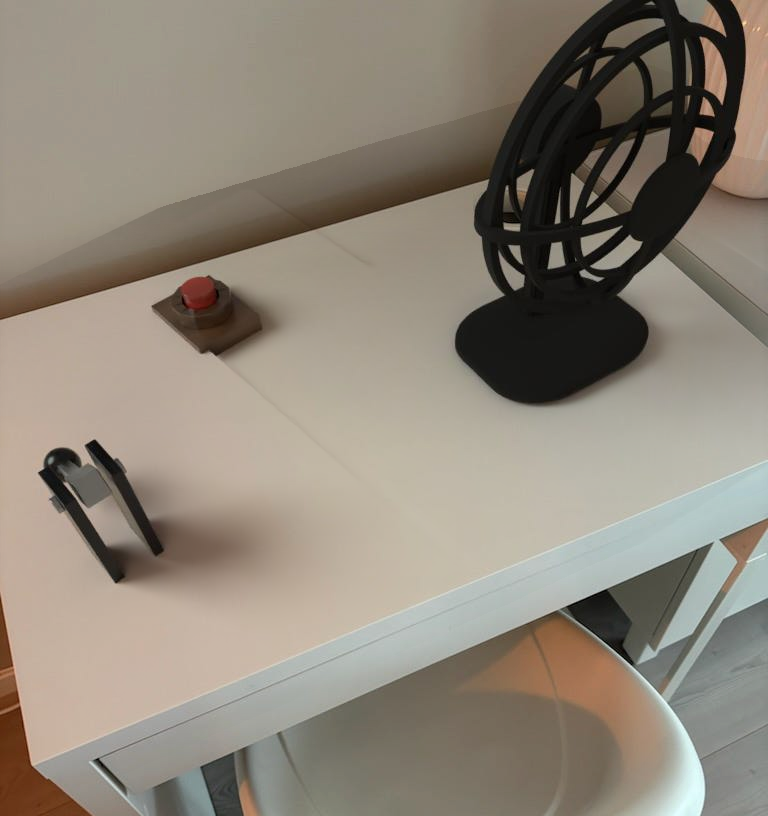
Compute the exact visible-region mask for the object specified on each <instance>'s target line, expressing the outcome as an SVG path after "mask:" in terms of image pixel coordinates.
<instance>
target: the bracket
mask: <svg viewBox="0 0 768 816" xmlns="http://www.w3.org/2000/svg"><path fill="white" fill-rule="evenodd" d="M84 448H85V450H86V451H87V454H88V455H89V457H90V459H91V460H92V462H93V464H94V467H95V468H96V469H97V470H98V471H99V473H100V474H101V476H102V477H103V479H104V480H105V482H106V483H107V485H108V486H109V488H110V489H111V491H112V492H113V494H111V496H112V498H113V500H114V502H115V503H116V505H117V507H118V508H119V510H120V512H121V513H122V515H123V517H124V519H125V521H126V522H127V524H128V526H129V528H130V529H131V530H132V532H133V533H134V534H135V535H136V536H137V537H138V538H139V540H140V541H141V542H142V543H143V544H144V545H145V547H146V548H147V549H148V550H149V551H150V553H151V554H152V555H153V556H154V557H157V556H158V555H160V554H162V553H163V552H165V548H164V546H163V545H162V542H161V540H160V538H159V537H158V535H157V533H156V531H155V529H154V527H153V525H152V523H151V521H150V520H149V517H148V515H147V514H146V512H145V510H144V508H143V506H142V504H141V502H140V500H139V498H138V497H137V495H136V492H135V491H134V489H133V487H132V485H131V483H130V481H129V479H128V477H127V475H126V474H127V472H128V471H127V469H126V467H125V465H124V464H123V463H122V461H121V460H120V459H119V458H118V457H115V458H113V457H112V456H111V455H110V454H109V452H108V451H107V450H105V448H104V447H103V446H102V445H101V444H100V443H99V441H98V440H97V439H92V440H91V441H88V442H87V443H85V444H84ZM37 474H38V476H39V477H40V479H41V481H42V482H43V484H44V485H45V486H46V488H47V489H48V491H49V492H50V494H51V495H52V496H51V497H49V498H48V502H49V503H50V504H51V505H52V507H53V508H54V509H55V511H56V512H57V513H58V514H59V515H60V514H62V513H64V514H65V516H66V518H67V519H68V521H69V522H70V523H71V525H72V526H73V528H74V529H75V531H76V532H77V534H78V536H79V537H80V538H81V540H82V541H83V543H84V544H85V546H86V547H87V549H88V550H89V552H90V553H91V555H92V556H93V557H94V559H95V560H96V561H97V562H98V563H99V565H100V566H101V567H102V568H103V570H104V572H105V573H106V574H107V575H108V576H109V577H110V579H111V581H113V583H114V584H117V583H119V582H120V581H122V580H124V579H126V575H125V574H124V572H123V570H122V569H121V567H120V566H119V564H118V562H117V561H116V559H115V558H114V556H113V555H112V553H111V551H110V550H109V549H108V547H107V545H106V544H105V542H104V541H103V539H102V537H101V536H100V534H99V532H98V531H97V529H96V528H95V526H94V525H93V523H92V522H91V520H90V518H89V517H88V515H87V513H86V512H85V510H84V509H83V507H82V506H81V504H80V503H79V501H78V500H77V499H78V498H76V497H75V495H74V493H72V492H71V491H70V489H69V488H68V486H66V484H65V483H63V482H62V481H61V480H60V478H59V477H58V476H57V475H56V474H55V472H54V471H53V470H52V469H51V467H50V466H48V467H46V468H43V469H41V470H39V471H38V472H37Z"/></svg>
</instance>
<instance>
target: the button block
mask: <svg viewBox="0 0 768 816" xmlns="http://www.w3.org/2000/svg"><path fill="white" fill-rule="evenodd" d="M205 277H207V278H209V279H211V280H212V281H213V283H214V286H215V290H216V294H217V301H216V303H215V304H213V305H211V306H210V307H208V308H204V309H198V310H195V309H190V308H188V307H187V306H186V304H185V301H184V298H183V295H182V292H181V287H182V285H180V286H177V287H178V288H176V290H175V291H174V293H172V294H170V295H169V296H166V297H165V298H163V299H161V300H160V301H158V302H157V301H156V303H154V304H152V305H150V307H151V310H152V312H153V313H154V314H155V315H156V316H157V317H158V318H160V319H161V320H162V321H163V322H164V323H165V324H166V325H168V327H170V329H172V330H173V331H174V332H175V333H176V334H177V335H179V336H180V337H181V338H182V339H183V340H184V341H186V343H187V344H188V345H190V346H191V347H192V348H193V349H194V350H195V351H197V353H199V355H202V354H204V353H206V352H208V351H209V352H210V353H212V354H213V355H214V356H215V357H218V356H219V355H221V354H223V353H224V352H226V351H228V350H229V349H232V348H233V347H235V346H237V345H238V344H240V343H241V342H243V341H245V340H247V339H249V338H250V337H252V336H253V335H256V334H257V333H259V332H260V331H262V330H263V327H262V321H261V318H260V313H258V312H257V311H256V310H254V309H253V308H252V307H250V306H249V305H248V304H247V303H245V301H243V300H241V299H240V298H239V297H238V296H237V295H235V294H234V293H233V292H232V291H231V290H230V287H229V286H228V285H226V283H224V282H223V281H221V280H219V279H215V278H214V277H212V276H211V275H210V274H208V275H206V276H205Z"/></svg>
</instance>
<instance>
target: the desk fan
mask: <svg viewBox="0 0 768 816" xmlns="http://www.w3.org/2000/svg"><path fill="white" fill-rule="evenodd" d="M706 1H707V2H708V4H710V5H711V6H712V8H713V9H714V10H715V12H716V13H717V15H718V17H719V19H720V22H721V24H722V26H723V29H724V32H725V35H724V34H723V33H722V32H720V31H718V30H717V29H715V28H713V27H710V26H708V25H705V24H704V23H700V22H696V21H690V20H689V19H688V18H686V17H685V16H684V15H683V14H681V13H680V10H679V6H678V4H677V2H676V0H610V1H609V2H608V3H606V4H605V5H603V6H602V7H601V8H600V9H599V10H597V11H596V12H594V14H592V15H591V16H590V17H589V18H588V19H586V21H584V22H583V23H582V24H581V25H580V26H579V27H578V28H577V29H576V30H575V31H574V32H573V33H572V34H571V35H570V36H569V37H568V39H567V40H566V41H565V42H564V43H563V44H562V45H561V46H560V47H559V48H558V50H557V51H556V52H555V53H554V54H553V55H552V57H551V58H550V59H549V61H548V62H547V63H546V65H545V66H544V68H542V70H541V71H540V73H539V74H538V76H537V77H536V79H535V80H534V82H533V83H532V85H531V86H530V88H529V90H528V91H527V92H526V94H525V95H524V97H523V99H522V101H521V103H520V104H519V106H518V108H517V110H516V112H515V113H514V115H513V117H512V119H511V121H510V124H509V126H508V127H507V130H506V132H505V134H504V136H503V138H502V140H501V143H500V146H499V149H498V151H497V153H496V156H495V159H494V162H493V165H492V168H491V171H490V174H489V178H488V182H487V186H486V190H484V192H483V193H482V194H481V196H480V197H479V198H478V200H477V202H476V204H475V206H474V213H473V228H474V230H475V232H476V234H477V235H478V236H479V237H481V247H482V253H483V258H484V263H485V267H486V269H487V271H488V274H489V276H490V279H491V280H492V282H493V284H494V285H495V287H496V288H497V289H498V290H499V291H500V292H501V293H502V294H503V295H502V296H501V297H498V298H496V299H493V300H492V301H490V302H488V303H487V302H486V303H485V304H482V305H481V306H479V307H477V308H476V309H474V310H473V311H471V312H470V313H469V314H467V315H466V316H465V317H464V318H463V320H462V321H461V322H460V323H459V324H458V326H457V329H456V332H455V334H454V335H455V336H454V349H455V352H456V353H457V356H458V357H459V358H460V359H461V361H462V362H463V363H464V364H466V365H467V366H468V367H469V368H470V369H471V370H472V371H473V372H474V373H475V374H476V375H477V376H478V377H479V378H480V379H481V380H482V381H483V382H484V383H485V384H486V385H487V386H488V387H489V388H490V389H491V390H493V392H495V393H496V394H498V395H500V396H501V397H503V398H505V399H508V400H509V401H514V402H519V403H523V404H524V403H526V404H543V403H550V402H555V401H558V400H561V399H565V398H567V397H569V396H572V395H573V394H576V393H578V392H580V391H581V390H584V389H585V388H587V387H589V386H591V385H593V384H594V383H597V382H598V381H601V380H602V379H604V378H606V377H608V376H610V375H612V374H614V373H615V372H617V371H619V370H621V369H623V368H625V367H627V366H628V365H629V364H631V363H633V361H635V360H636V359H637V358H638V357H639V356H640V355H641V353H643V351H644V350H645V347H646V344H647V343H648V338H649V334H650V333H649V332H650V330H649V325H648V322H647V320H646V318H645V317H644V315H642V313H641V312H639V311H638V309H636V308H634V307H633V306H632V305H631V304H629V303H628V302H627V301H625V300H624V299H622V298H621V297H620V296H619V294H620V293H621V292H623V291H624V289H625V288H626V287H627V286H628V285H629V284H630V283H631V281H632V280H633V279H634V277H635V276H636V275H637V274H639V273H640V272H641V271H642V270H643V269H645V268H646V267H647V266H649V264H651V263H652V262H653V261H654V259H656V258H657V257H658V256H659V255H660V254H661V253H662V252H663V251H664V250H665V248H667V246H668V245H669V244H670V243H671V242H672V241H673V240H674V238H676V236H677V235H678V234H679V233H680V231H681V230H682V229H683V228H684V226H685V225H686V224H687V223H688V221H689V220H690V219H691V217H692V216H693V214H694V213H695V211H696V210H697V208H698V207H699V205H700V204H701V202H702V201H703V199H704V197H705V196H706V195H707V192H708V190H709V189H710V187H711V185H712V183H713V181H714V179H715V178H716V176H717V174H718V173H720V171H721V170H722V169H723V168H724V167H725V165H726V164H727V163H728V161H729V159H730V157H731V156H732V152H733V150H734V146H735V144H736V140H737V132H736V130H735V128H736V124H737V121H738V116H739V112H740V106H741V101H742V99H741V98H742V93H743V88H744V81H745V75H746V66H747V65H746V64H747V45H746V35H745V29H744V26H743V25H744V24H743V22H742V19H741V16H740V13H739V11H738V9H737V7H736V6H735V4H734V3H733V0H706ZM650 3H651V4H650ZM652 3H653V4H652ZM649 19H654V20H655V19H656V20H657V19H658V20H663V24H664V25H662V26H660V27H658V28H656V29H655V28H654V29H653V30H651V31H649V32H647V33H645V34H643V35H641V36H640V37H638V38H637V39H635V40H633V42H631V43H629V44H627V46H625V47H620V46H604V44H605V42H606V40H607V37H608V36H609V34H610V33H612V32H614V31H615V30H617V29H620V28H622V27H624V26H626V25H628V24H632V23H634V22H638V21H642V20H649ZM701 38H704V39H706V40H708V41H709V42H710V43H711V44H712V45H713V46H714V47H715V48H716V50H717V51H718V53H719V55H720V58H721V59H722V62H723V66H724V70H725V71H724V72H725V78H726V80H725V81H726V84H725V90H724V94H723V101H722V102H721V101H720V98H718V96H717V95H716V94H715V93H713V92H711V91H710V90H708V89H705V88H706V77H707V75H706V74H707V73H706V72H707V71H706V70H707V69H706V68H707V67H706V57H705V50H704V46H703V43H702V40H701ZM665 43H669V50H670V59H671V74H672V75H671V78H672V80H671V81H672V88H671V89H669V90H667V91H664V92H663V93H661V94H659V95H658V96H656V97H654V88H653V87H654V86H653V81H652V80H653V79H652V75H651V73H650V70H649V67H648V66H647V63H646V62H645V61H644V60H643V59H642V56H644V55H645V54H646V53H648V52H650V51H652V50H653V49H656V48H657V47H659V46H661V45H663V44H665ZM603 46H604V47H603ZM686 47H687V50H688V53H689V59H690V67H691V82H690V83H691V84H690V85H687V55H686V53H687V52H686ZM587 50H588V52H587V53H585V52H586V51H587ZM584 53H585V54H584ZM581 55H582V56H581ZM608 57H611V58H610V59H609V60H608V61H606V63H605V64H604V65H603V66H602V67H601V68H600V69H599V70H598V71H597V72H596V73H595V74H594V75H593V72H594V68H595V67H596V63H597V61H598V60H600V59H603V58H608ZM632 63H633V64H634V66H636V69H637V70H638V72H639V74H640V78H641V81H642V86H643V87H642V88H643V105H642V107H640V108H639V109H638V110H637V111H636V112H635V113H634V114H633V115H632V116H630V117H629V119H628V120H627V121H623V122H620V123H616V124H613V125H609V126H605V127H602V123H603V122H602V120H603V116H602V114H603V113H602V108H601V105H600V104H599V102H598V100H597V99H596V98H597V97H598V96H599V95H600V94H601V92H602V91H603V90H604V89H605V88H606V87H607V86H608V84H610V83H611V82H612V81H613V80H614V79H615V78H616V77H617V76H618V75H619V74H620V73H622V72H623V71H624V70H625V69H626V68H627V67H629V66H630V65H631V64H632ZM580 70H581V72H580V74H579V75H580V76H579V79H578V82H577V86H576V88H575V87H574V86H571V85H569V84H567V83H565V82H567V81H568V80H569V79H570V78H571V77H573V76H574V75H575V74H576V73H577V72H579V71H580ZM592 75H593V76H592ZM686 97H689V100H688V105H687V109H685V107H686ZM704 99H705V100H706V101H707V102H708V103H709V105H710V107H711V109H712V112H713V115H709V114H702V113H701V110H702V106H703V101H704ZM668 103H671V114H663V115H662V114H661V115H655V116H652V114H653V113H654V112H656V111H657V110H658V109H660V108H662V107H663V106H665V105H667V104H668ZM685 110H686V113H685ZM664 128H669V135H668V143H667V150H666V156H665V161H664V162H663V163H661V164H660V165H659V166H657V168H656V169H654V171H653V172H652V173H651V174H650V175H649V176H648V178H647V179H646V180H645V182H643V184H642V186H641V187H640V189H639V191H638V192H637V194H636V196H635V198H634V200H633V202H632V205H631V208H630V210H628V211H625V212H621V213H619V214H616V215H612V216H610V217H606V218H603V219H599V220H595V221H591V222H587V223H584V222H583V221H584V220H585V219H587V218H588V217H589V216H591V215H592V214H594V212H596V211H597V210H598V209H599V208H600V207H601V206H602V205H604V203H605V202H606V201H607V200H608V199H609V198H610V197H611V196H612V194H613V193H614V192H615V191H616V190H617V188H618V187H619V185H620V184H621V183H622V182H623V180H624V179H625V177H626V176H627V174H628V173H629V171H630V169H631V168H632V166H633V164H634V162H635V160H636V158H637V156H638V155H639V152H640V150H641V148H642V145H643V143H644V141H645V138H646V136H647V132H648V130H654V129H655V130H656V129H664ZM696 128H697V129H702V130H705V131H710V132H712V136H711V138H710V140H709V143H708V145H707V148H706V150H705V152H704V155H703V157H702V159H701V161H700V162H699V161H698V159H697V157H696V156H695V155H693V154H692V153H688V152H687V151H688V149H689V146H690V144H691V142H692V139H693V136H694V133H695V132H696V131H695V130H696ZM636 132H637V133H636ZM632 133H636V135H635V138H634V141H633V142H632V146H631V147H630V148H631V149H630V150H629V152H628V154H627V156H626V158H625V160H624V162H623V163H622V165H621V166H620V169H618V171H617V173H616V174H615V176H614V177H613V179H612V180H611V181H610V183H609V184H608V185H607V186H606V188H605V189H604V190H603V191H602V192H601V194H599V195H598V196H597V197H596V198H595V200H593V201H592V202H591V203H590V204H589V200H590V198H591V196H592V193H593V191H594V188H595V186H596V184H597V183H598V181H599V179H600V176H601V175H602V173H603V170H605V168H606V166H607V164H608V163H609V161H610V159H611V158H612V157H613V156H614V154H615V153H616V151H617V150H618V149H619V147H620V146H621V145H622V144H623V142H624V141H625V140H626V139H627V137H628V136H629V135H631V134H632ZM607 139H610V140H609V142H608V143H607V144H606V145H605V148H604V149H603V150H602V152H601V153H600V154H599V156H598V158H597V159H596V161H595V163H594V164H593V167H592V168H591V170H590V172H589V174H588V175H587V178H586V180H585V182H584V184H583V186H582V189H581V191H580V194H579V197H578V199H577V202H576V206H575V209H574V213H573V216H572V217H571V187H572V175H573V173H575V172H576V171H577V170H579V168H580V167H581V166H582V165H583V164H584V163H585V161H586V160H587V159H588V158H589V156H590V154H591V153H592V152H593V149H594V147H595V145H596V143H597V142H601V141H604V140H607ZM521 161H522V162H521ZM532 170H533V172H532V175H531V178H530V181H529V184H528V186H527V190H526V193H525V197H524V200H523V206H522V208H521V206H520V202H519V196H518V179H519V178H521V177H522V176H523V175H525V174H527V173H528V172H530V171H532ZM506 188H507V189H506ZM506 190H507V191H508V198H509V199H508V200H509V203H510V205H511V209H512V211H513V214H515V216H516V218H517V219H518V220H519V221H520V223H519V230H511V229H506V228H505V224H504V223H505V222H504V203H505V197H506V196H505V194H506ZM588 204H589V205H588ZM558 206H559V222H556V219H557V211H558ZM583 223H584V224H583ZM618 228H619V229H618ZM614 229H617V231H616V232H614V234H613V235H612V236H610V237H609V238H608V239H607V240H605V241H604V242H603V243H602V244H601V245H599V246H598V247H596V248H595V249H593V250H592V251H591V252H589V253H588V254H586V255H584V253H583V247H582V238H587V237H590V236H593V235H597V234H601V233H604V232H607V231H611V230H614ZM629 236H630V237H631V239H633V240H635V241H636V242H641V244H640V247H639V248H638V250H636V251H635V252H634V253H633V254H632V255H631V256H630V257H629V258H627V259H626V260H625V261H624V262H623V263H622V264H621V265H619V266H616V267H612V268H605V269H602V268H596V267H593V265H595V264H596V263H598V262H599V261H601V260H602V259H604V258H605V257H606V256H608V255H609V254H610V253H612V252H613V251H614V250H615V249H616V248H618V247H619V246H620V245H621V244H622V243H623V242H624V241H626V239H628V238H629ZM557 243H561V249H562V256H563V261H564V265H561V266H558V267H552V268H549V264H550V257H551V250H552V245H553V244H557ZM510 246H513V247H514V246H515V247H516V246H517V247H519V253H520V258H521V262H520V261H518V259H517V258H516V257H515V256H514V254H513V252H512V251H511V248H510ZM500 255H501V256H500ZM500 257H502V258H503V260H504V261H505V262H506V263H507V264H508V265H509V266H510V267H512V268H513V269H514V271H516V272H518V274H520V275H523V276H524V279H523V286H521V287H520V288H517V289H514V288H513V286H512V285H511V284H510V283H509V281H508V279H507V277H506V275H505V273H504V269H503V267H502V263H501V258H500ZM582 271H586V272H587V273H588V274H589V275H592V276H594V277H596V278H601V279H600V280H598V281H597V280H595V279H593V278H590V277H585V276H582V275H581V272H582Z"/></svg>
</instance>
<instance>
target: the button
mask: <svg viewBox="0 0 768 816" xmlns="http://www.w3.org/2000/svg"><path fill="white" fill-rule="evenodd" d="M181 286H182V287H181V292H182V295H183V298H184V301H185V304H186V306H187V307H188V308H190V309H195V310H198V309H204V308H208V307H210V306H211V305H213V304H215V303H216V301H217V294H216V290H215V286H214V283H213V281H212V280H211V279H209V278H207V277H206V276H195V277H191V278H189V279H188V280H186V281H184V282H183V284H181Z"/></svg>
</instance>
